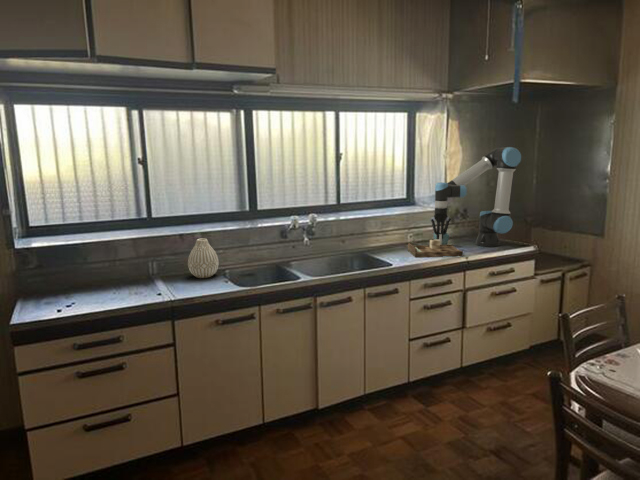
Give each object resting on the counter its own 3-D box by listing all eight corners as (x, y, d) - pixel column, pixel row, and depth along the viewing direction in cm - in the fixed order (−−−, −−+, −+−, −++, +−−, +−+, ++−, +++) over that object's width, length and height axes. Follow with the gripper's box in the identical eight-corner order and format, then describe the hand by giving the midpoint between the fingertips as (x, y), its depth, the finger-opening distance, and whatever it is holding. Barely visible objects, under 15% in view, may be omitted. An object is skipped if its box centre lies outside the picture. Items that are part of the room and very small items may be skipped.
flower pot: (449, 248, 320) (449, 234, 318) (435, 248, 320) (435, 234, 318) (445, 245, 329) (446, 232, 327) (432, 245, 329) (433, 232, 327)
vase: (182, 277, 258) (180, 240, 255) (206, 270, 271) (204, 235, 267) (201, 281, 248) (198, 243, 245) (225, 275, 261) (223, 238, 257)
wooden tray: (451, 249, 316) (452, 241, 315) (462, 256, 296) (462, 248, 295) (407, 250, 314) (407, 243, 313) (415, 257, 295) (415, 249, 294)
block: (437, 247, 312) (437, 239, 311) (439, 248, 307) (439, 240, 306) (429, 247, 311) (429, 239, 310) (431, 248, 306) (432, 241, 305)
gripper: (449, 206, 308) (447, 243, 313) (429, 206, 308) (427, 243, 312) (453, 207, 301) (451, 245, 305) (432, 208, 300) (431, 245, 305)
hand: (439, 244), depth 309 cm, fingers closed
